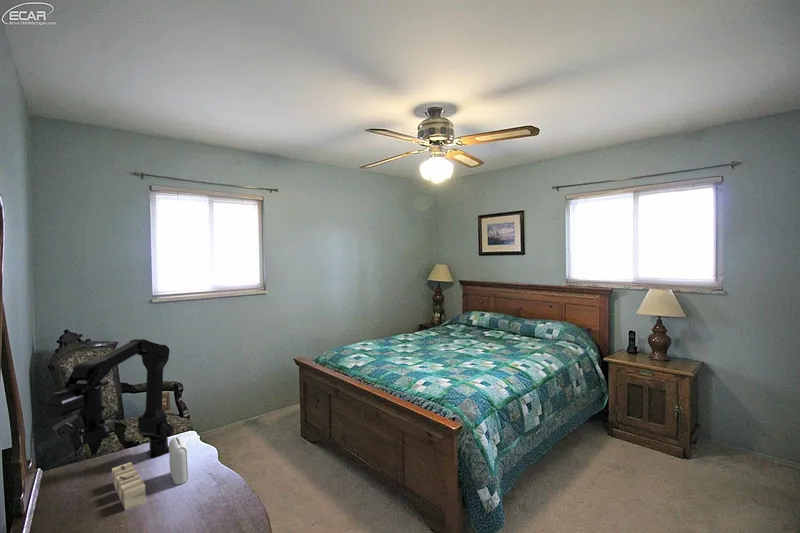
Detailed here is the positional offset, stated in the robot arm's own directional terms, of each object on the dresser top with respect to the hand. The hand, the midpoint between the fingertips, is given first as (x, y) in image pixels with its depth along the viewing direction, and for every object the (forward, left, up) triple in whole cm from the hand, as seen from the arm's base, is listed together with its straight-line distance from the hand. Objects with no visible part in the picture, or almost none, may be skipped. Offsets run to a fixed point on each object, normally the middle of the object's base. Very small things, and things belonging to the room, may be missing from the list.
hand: (93, 455), depth 114 cm
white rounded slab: (+10, +20, -12) cm, 25 cm away
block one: (0, +7, -12) cm, 14 cm away
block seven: (+7, +7, -12) cm, 16 cm away
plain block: (+14, +7, -12) cm, 20 cm away
